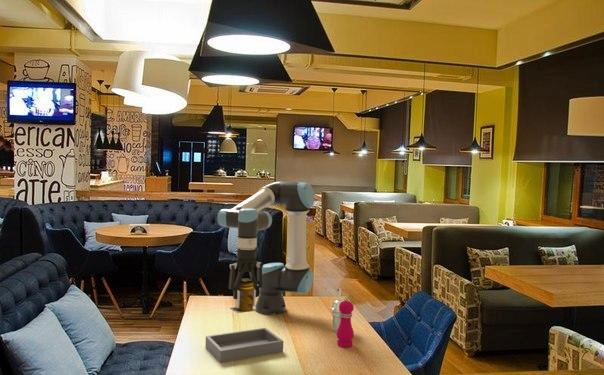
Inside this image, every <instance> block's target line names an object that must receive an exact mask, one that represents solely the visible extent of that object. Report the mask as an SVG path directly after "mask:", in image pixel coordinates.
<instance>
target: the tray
mask: <svg viewBox="0 0 604 375" xmlns="http://www.w3.org/2000/svg"><path fill="white" fill-rule="evenodd" d="M205 348H206V349H207V350H208V352H209V353H210V354H211V355H212V356H213V357H214V358H215V359H216V360H217V362H219V364H221V363H227V362H233V361H239V360H246V359H251V358H257V357H263V356H268V355H270V356H271V355H275V354H281V353H284V340H282V339H281V338H280V337H279V336H277V335H276V334H274V333H273V332H272V331H271V330H269V329H268V328H267V327H260V328H253V329H245V330H240V331H232V332H227V333H219V334H218V333H217V334H212V335H210V334H209V335H205Z"/></svg>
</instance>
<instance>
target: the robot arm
mask: <svg viewBox="0 0 604 375" xmlns="http://www.w3.org/2000/svg"><path fill="white" fill-rule="evenodd" d="M314 202H315V191H314V189H313V187H312V185H311V184H310V183H309V182H308V183H307V182H302V181H285V180H284V181H282V180H278V181H275V182H271V183H269V184H266V185H264V186H262V187H260V188H259V189H258V190H257V192H256V193H255V194H253V195H252V196H250V197H248V198H247V199H245V200H243V201H242V202H239V203H238V204H237V205H235V206H234V207H232V208H222V209H220V210H219V211H218V213H217V223H218V225H219V226H221V227H223V228H227V229H228V228H231V229H232V228H233V229H237V244H236V246H237V251H236V261H235V263H230V264H228V266H229V269H230V270H229V277H228V278H229V279H228V289H229V290H230V291H232V293H233V295H232V299H234V307H237V308H239V300H240V291H238V289H239V285H240V282H241V279H243V275H245V273H247V272H248V273H249V277H250V279H252V280H253V289H254V290H253V307H255V308H254V309H255V310H256V311H255V312H257V313H260V314H264V315H279V314H282V313H285V312H287V311H286V310H287V308H286V307H287V304H286V301H285V298H284V294H283V293H284V292H286V293H293V294H298V295H299V294H301V295H306V294H308V292H309V291H310V290H311V288H312V286H313V283H314V282H313V281H314V278H315V277H314V276H315V274H314V272H313V270H311V269H310V264H308V262H307V214H308V213H309V212H310V209H311V208H313V206H314ZM272 206H283V207H284V206H285V207H284V209H285V212H286V213H287V214H288V229H287V230H288V236H287V237H288V245H287V246H288V247H287V249H288V254H287V255H288V258H287V259H288V261H287V263H286V264H285V265H284V263H282V262H269V263H265V264H264V262H261V261H257V249H256V248H257V247H258V246H257V245H258V231H259V232H260V231H264V230H267V229H269V228H270V227H271V225H272V223H273V218H272V216H271V214H270V213H269V212H268V211H264V210H263V209H264V208H269V207H272ZM255 267H256V273H255ZM237 268H238V271H237V274H236V269H237ZM258 291H259V294H258ZM256 298H257V300H256Z"/></svg>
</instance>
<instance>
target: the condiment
mask: <svg viewBox="0 0 604 375" xmlns="http://www.w3.org/2000/svg"><path fill="white" fill-rule="evenodd" d="M253 290H254V288H253V280H252V279H251V278H249V277H247V278H245V277H244V278H243V277H242V279H241V282H240V285H239V289H238V291H240V300H239V308H237V307H235V306H234V307H229V309H230V310H231V311H232V312H234V313H236V314H242V313H243V314H244V313H249V312H250V313H251V312H257V311H256V310H255V308H253V307H254V306H253Z"/></svg>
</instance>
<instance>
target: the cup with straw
mask: <svg viewBox="0 0 604 375" xmlns="http://www.w3.org/2000/svg"><path fill="white" fill-rule="evenodd" d="M337 291H339V292H338V299H336V300H334V301H333V302H332V303H331V305H330V307H329V310H330V311H331V315H332V327H333V331H334V332H336V333H337V329H338V327H339V325H340V322H341V316H340V312H341V311H340V310H339V305H340V303H341V302H342V301H344V300H343V299H341V296H342V295H341V292H342V290H341V288H340V287H339V288H338V289H337Z"/></svg>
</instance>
